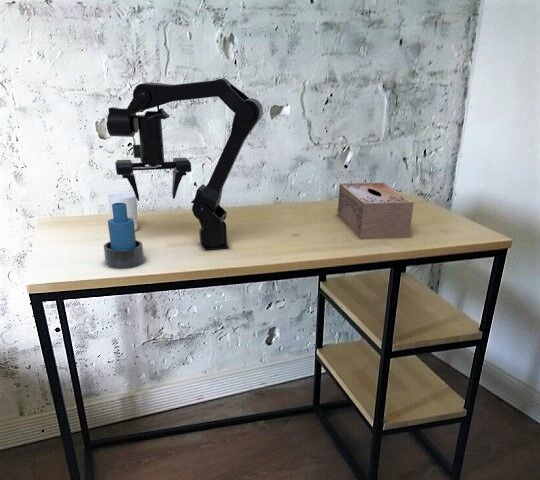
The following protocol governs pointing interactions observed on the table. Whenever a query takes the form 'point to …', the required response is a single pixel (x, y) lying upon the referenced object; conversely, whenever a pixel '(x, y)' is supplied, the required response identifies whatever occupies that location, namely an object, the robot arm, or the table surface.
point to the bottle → (121, 228)
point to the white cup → (130, 204)
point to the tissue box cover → (375, 210)
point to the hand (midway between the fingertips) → (156, 199)
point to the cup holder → (124, 256)
